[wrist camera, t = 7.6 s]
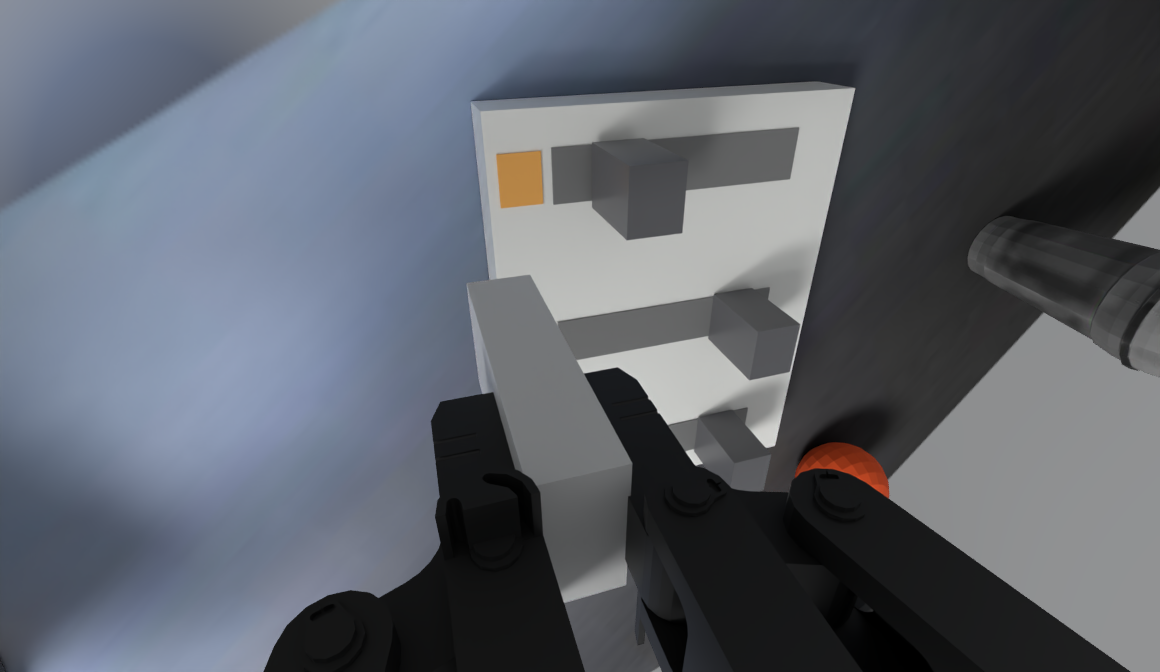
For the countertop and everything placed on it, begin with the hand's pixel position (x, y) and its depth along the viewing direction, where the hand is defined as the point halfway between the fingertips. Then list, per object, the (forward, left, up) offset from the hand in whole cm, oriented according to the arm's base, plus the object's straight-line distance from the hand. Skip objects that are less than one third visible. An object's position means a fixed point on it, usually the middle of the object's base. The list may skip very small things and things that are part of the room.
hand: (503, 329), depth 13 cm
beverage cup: (+39, -9, -16) cm, 44 cm away
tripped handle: (+8, 0, -13) cm, 15 cm away
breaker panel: (+11, -9, -16) cm, 22 cm away
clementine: (+27, -27, -17) cm, 42 cm away
